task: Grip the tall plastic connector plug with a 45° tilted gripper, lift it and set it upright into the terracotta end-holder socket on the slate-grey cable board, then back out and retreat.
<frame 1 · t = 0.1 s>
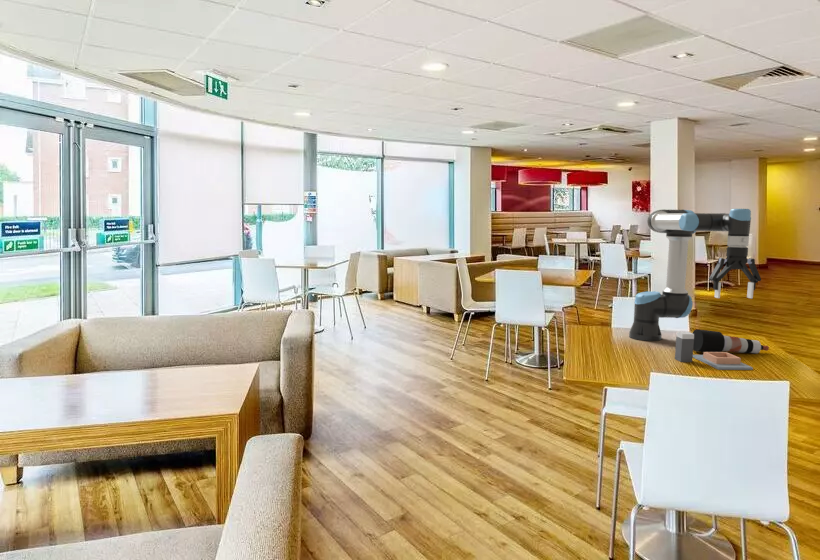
hand: (733, 298, 228), 28 cm above the table, tool pointing down, fingers open, 13 cm apart
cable: (730, 353, 250), on the table
dock: (721, 363, 232), on the table
plug: (683, 360, 236), on the table
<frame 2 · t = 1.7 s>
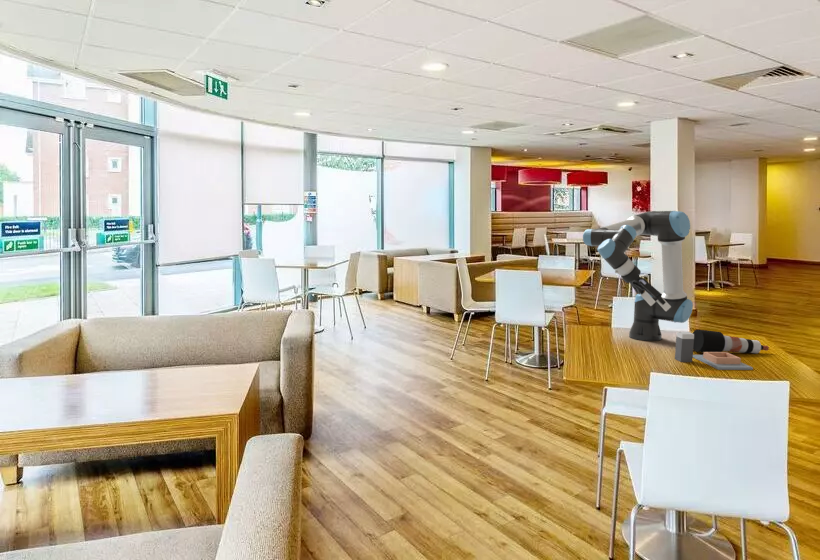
hand: (660, 306, 233), 23 cm above the table, tool tilted 45°, fingers open, 13 cm apart
nothing on the table moved.
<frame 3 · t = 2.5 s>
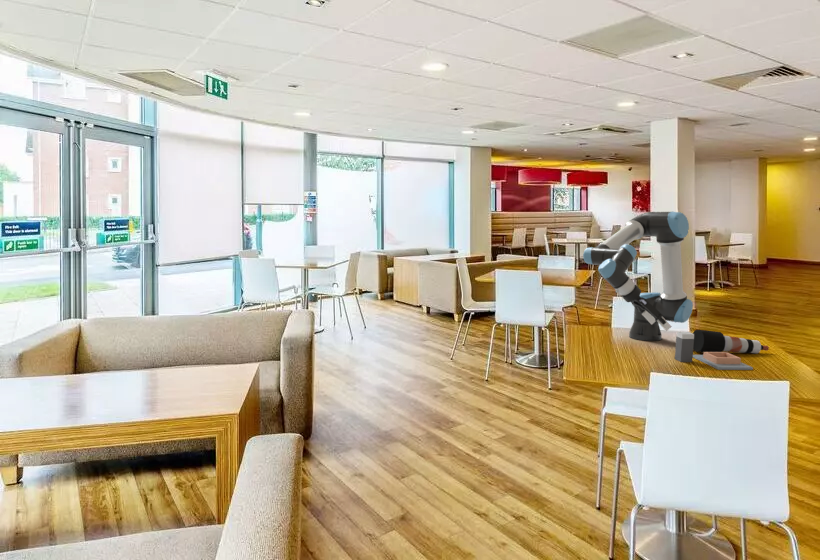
hand: (661, 325, 234), 15 cm above the table, tool tilted 45°, fingers open, 13 cm apart
nothing on the table moved.
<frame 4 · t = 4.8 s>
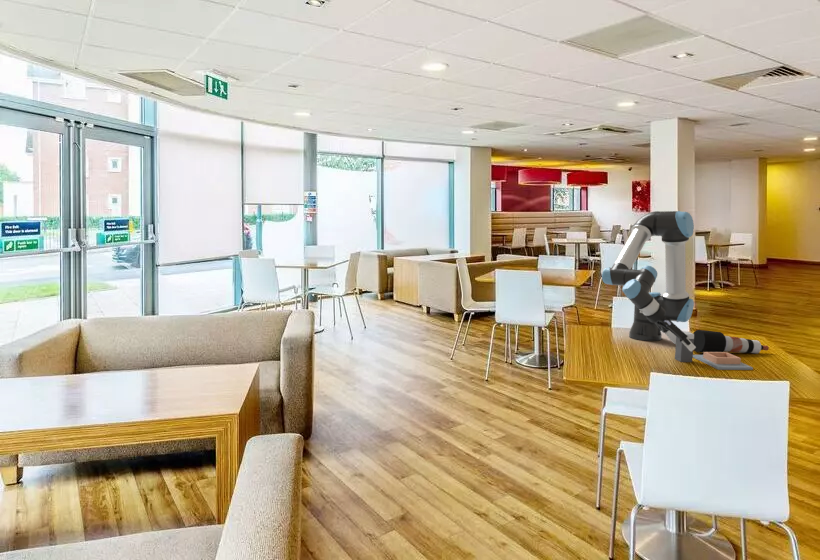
hand: (684, 345, 235), 7 cm above the table, tool tilted 45°, fingers open, 13 cm apart
nothing on the table moved.
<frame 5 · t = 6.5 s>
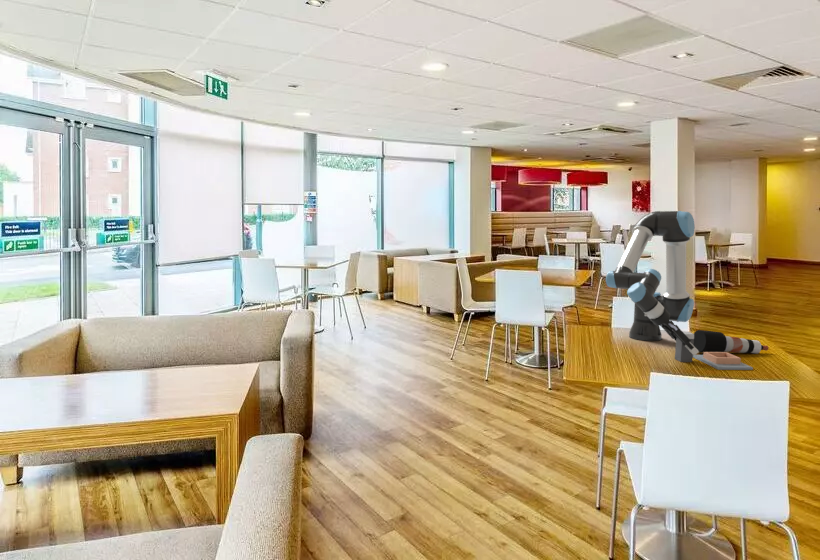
hand: (692, 351, 236), 4 cm above the table, tool tilted 45°, fingers closed on plug, 5 cm apart
plug: (683, 360, 236), on the table, touching gripper
everything else where it was.
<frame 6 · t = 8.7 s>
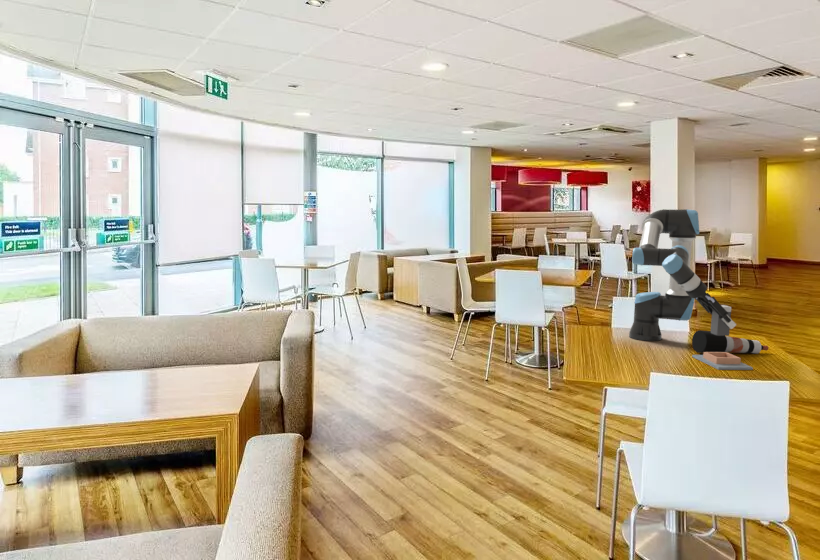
hand: (729, 325, 230), 16 cm above the table, tool tilted 45°, fingers closed on plug, 5 cm apart
plug: (719, 334, 231), point 12 cm above the table, touching gripper
when the fingers open (6 cm above the table, at t = 11.0 s): plug drops 1 cm, resting on dock.
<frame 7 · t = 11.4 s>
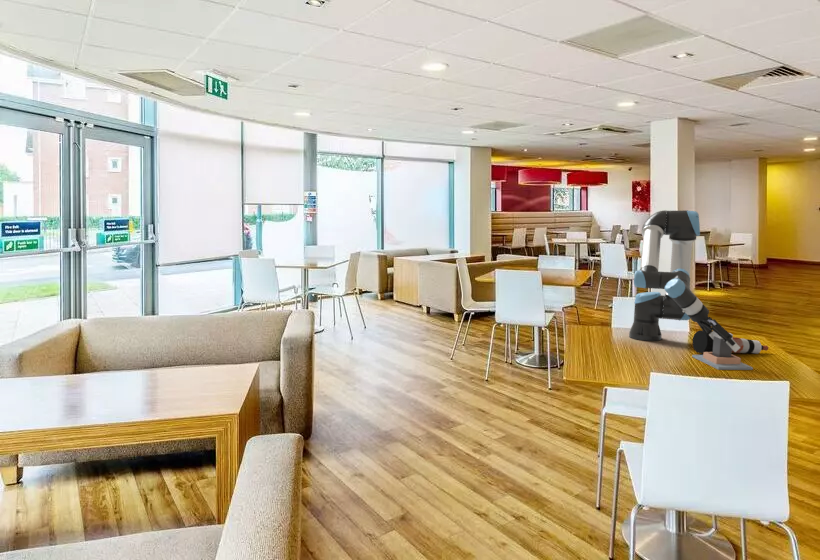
hand: (729, 346, 231), 7 cm above the table, tool tilted 45°, fingers open, 11 cm apart
plug: (721, 360, 232), point 1 cm above the table, touching dock
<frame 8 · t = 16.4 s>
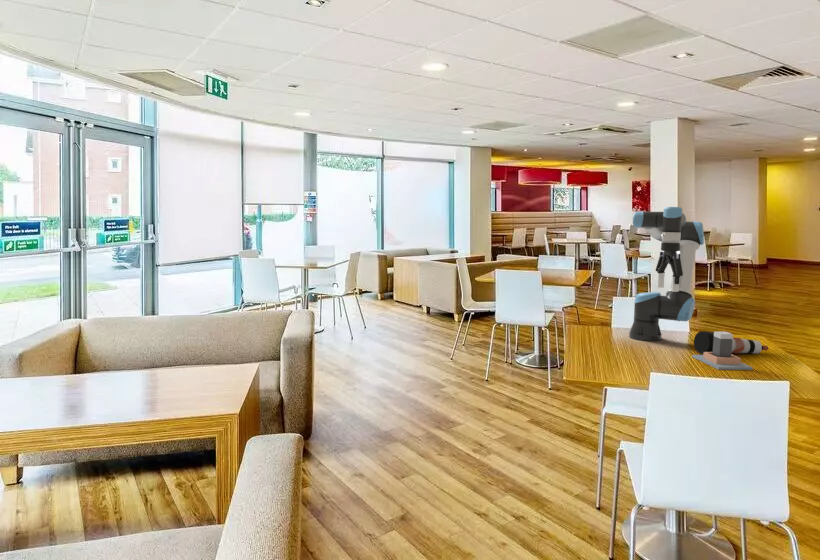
hand: (667, 289, 247), 29 cm above the table, tool pointing down, fingers open, 13 cm apart
at the end: plug 0.1 cm off-centre on the dock, point 1.0 cm above the dock's base; plug tilted 0°; the gripper is holding nothing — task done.
